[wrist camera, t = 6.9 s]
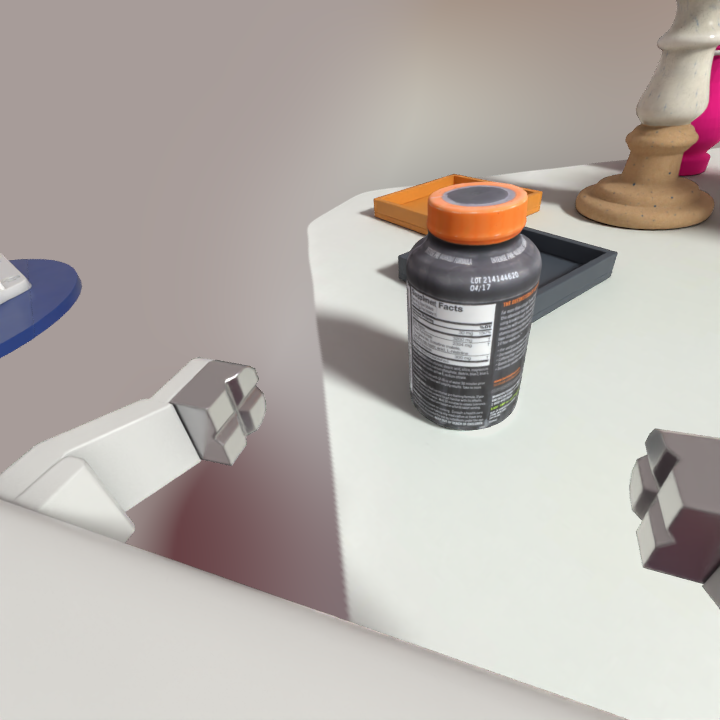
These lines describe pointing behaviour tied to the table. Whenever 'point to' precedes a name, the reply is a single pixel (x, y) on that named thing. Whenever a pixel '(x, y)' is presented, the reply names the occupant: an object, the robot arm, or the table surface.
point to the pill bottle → (471, 304)
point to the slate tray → (559, 269)
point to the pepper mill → (705, 127)
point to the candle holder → (664, 133)
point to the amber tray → (413, 202)
